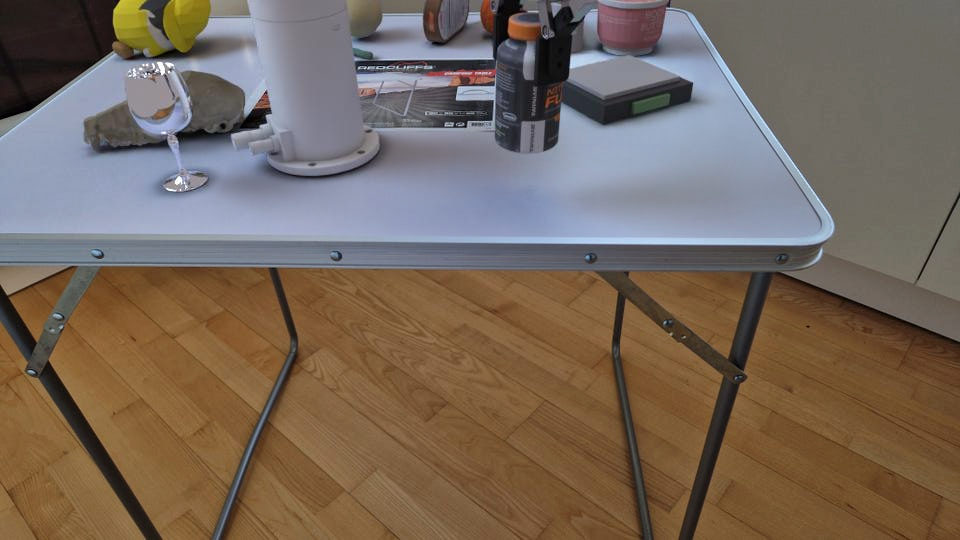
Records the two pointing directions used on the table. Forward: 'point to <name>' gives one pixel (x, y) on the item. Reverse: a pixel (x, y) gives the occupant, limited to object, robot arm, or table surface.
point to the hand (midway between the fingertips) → (529, 68)
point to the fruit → (487, 16)
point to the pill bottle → (524, 92)
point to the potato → (363, 17)
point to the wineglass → (163, 112)
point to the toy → (158, 25)
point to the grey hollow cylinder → (576, 38)
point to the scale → (622, 89)
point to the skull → (211, 111)
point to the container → (630, 25)
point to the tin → (444, 18)
